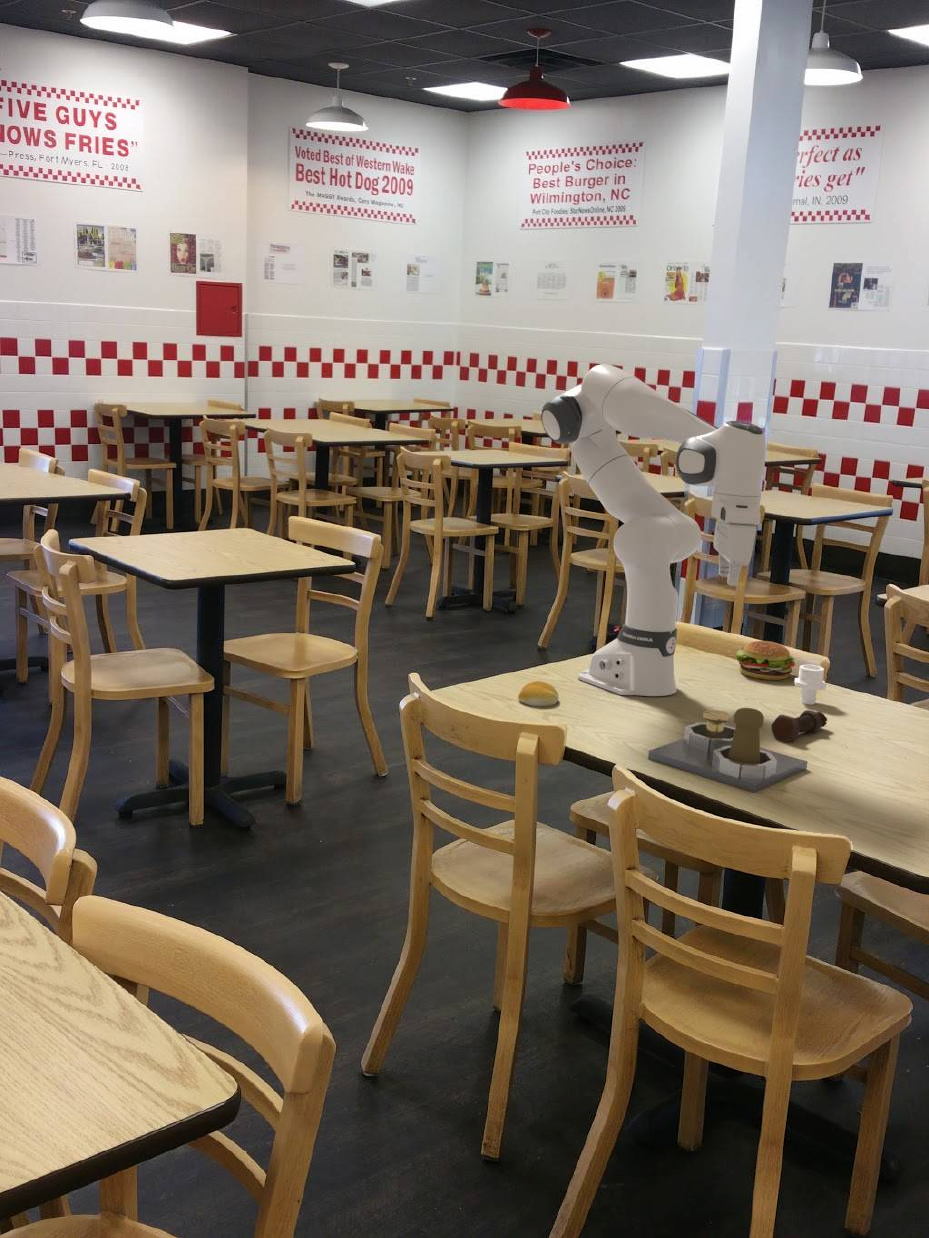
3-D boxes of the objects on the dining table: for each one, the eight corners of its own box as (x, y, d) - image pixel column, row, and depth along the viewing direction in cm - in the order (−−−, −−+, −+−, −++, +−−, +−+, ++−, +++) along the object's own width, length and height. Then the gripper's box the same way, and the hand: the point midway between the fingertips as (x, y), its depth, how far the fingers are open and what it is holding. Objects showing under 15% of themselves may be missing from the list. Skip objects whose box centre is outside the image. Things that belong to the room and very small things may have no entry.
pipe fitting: (830, 705, 261) (834, 670, 259) (802, 707, 258) (806, 671, 257) (812, 697, 267) (817, 663, 265) (785, 699, 264) (789, 664, 262)
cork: (740, 776, 208) (747, 715, 205) (718, 764, 213) (725, 705, 211) (767, 772, 211) (774, 713, 208) (745, 761, 216) (752, 703, 213)
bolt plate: (647, 758, 219) (651, 719, 217) (702, 738, 233) (706, 701, 231) (754, 792, 204) (759, 751, 203) (806, 769, 218) (811, 730, 217)
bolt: (821, 737, 244) (783, 749, 234) (804, 720, 247) (766, 731, 236) (838, 717, 241) (800, 728, 231) (820, 700, 244) (782, 710, 233)
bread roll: (515, 705, 248) (516, 686, 247) (523, 694, 257) (524, 676, 256) (554, 710, 246) (555, 691, 246) (561, 698, 255) (562, 680, 254)
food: (747, 663, 295) (751, 632, 293) (801, 675, 286) (805, 643, 284) (721, 672, 284) (725, 640, 282) (776, 685, 276) (780, 652, 274)
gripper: (710, 501, 235) (702, 570, 238) (727, 514, 215) (720, 589, 218) (742, 503, 235) (734, 572, 238) (762, 516, 215) (754, 591, 218)
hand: (727, 580), depth 228 cm, fingers open, 8 cm apart
